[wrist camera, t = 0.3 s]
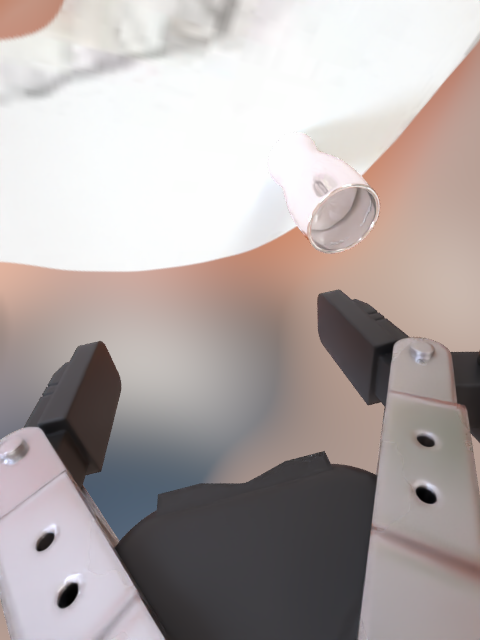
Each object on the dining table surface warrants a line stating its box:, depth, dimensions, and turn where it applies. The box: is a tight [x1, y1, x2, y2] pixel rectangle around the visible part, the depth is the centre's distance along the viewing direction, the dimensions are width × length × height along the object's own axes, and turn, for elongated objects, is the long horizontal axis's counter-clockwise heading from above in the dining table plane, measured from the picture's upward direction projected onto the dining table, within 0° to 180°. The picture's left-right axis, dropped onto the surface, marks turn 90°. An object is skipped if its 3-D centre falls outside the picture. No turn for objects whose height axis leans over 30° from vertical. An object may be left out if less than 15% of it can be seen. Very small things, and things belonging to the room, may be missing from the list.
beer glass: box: [268, 132, 380, 254], centre depth 31 cm, size 7×7×15 cm
